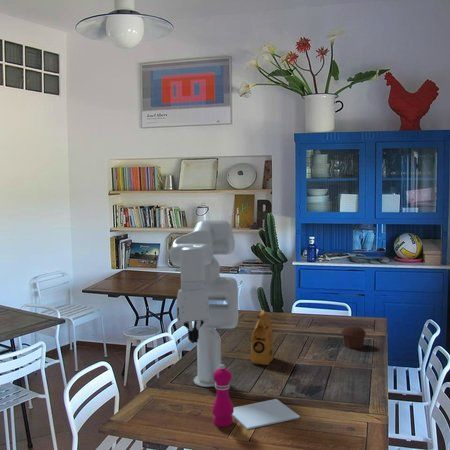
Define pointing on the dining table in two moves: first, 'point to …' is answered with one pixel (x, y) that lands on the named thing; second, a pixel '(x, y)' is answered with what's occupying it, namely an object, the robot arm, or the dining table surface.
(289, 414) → the mat
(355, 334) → the muffin
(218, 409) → the pepper mill
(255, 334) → the coffee package
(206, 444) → the dining table surface
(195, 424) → the dining table surface
